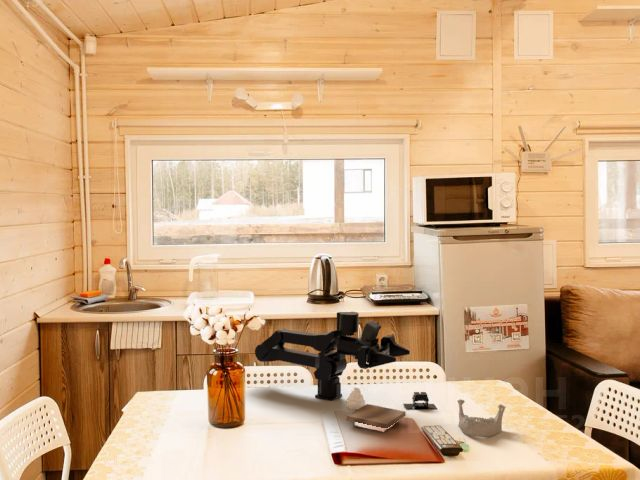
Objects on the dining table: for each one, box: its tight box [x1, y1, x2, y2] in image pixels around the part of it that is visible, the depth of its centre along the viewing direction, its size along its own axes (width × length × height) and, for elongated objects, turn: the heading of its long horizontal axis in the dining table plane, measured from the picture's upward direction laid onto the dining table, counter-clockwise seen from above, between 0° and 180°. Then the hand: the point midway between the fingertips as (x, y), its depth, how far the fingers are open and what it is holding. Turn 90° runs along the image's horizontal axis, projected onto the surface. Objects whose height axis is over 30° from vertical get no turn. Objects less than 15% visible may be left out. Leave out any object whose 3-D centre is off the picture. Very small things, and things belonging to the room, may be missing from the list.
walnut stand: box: [345, 403, 407, 428], centre depth 168 cm, size 12×12×3 cm
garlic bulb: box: [346, 386, 366, 410], centre depth 183 cm, size 6×6×5 cm
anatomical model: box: [457, 399, 507, 438], centre depth 164 cm, size 13×11×10 cm
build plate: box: [403, 391, 439, 411], centre depth 184 cm, size 12×7×5 cm, turn 91°
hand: (402, 356), depth 179 cm, fingers open, 9 cm apart
